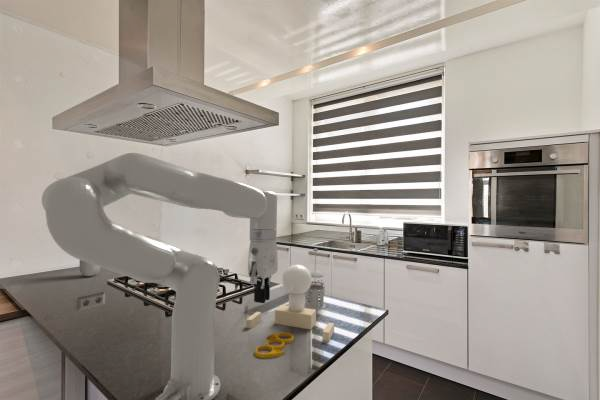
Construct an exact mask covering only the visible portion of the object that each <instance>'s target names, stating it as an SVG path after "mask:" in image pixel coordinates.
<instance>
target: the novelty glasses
mask: <svg viewBox="0 0 600 400" xmlns="http://www.w3.org/2000/svg"><path fill="white" fill-rule="evenodd" d="M282 337H288V338H286V339H285V338H282ZM294 338H295V337H294V335H293V334H292V333H289V332H276V333H271V334H269V335H268V336H266V340H267V341H266V343H265V345H259V346H258V347H256V348H255V349H254V356H255V357H257V358H259V359H270V358H278V357H280V356H283V355H284V354H285V353H286V352H285V351H286V350H283V349H284V348H285V346H286V344H290V343H293V342H294V340H295V339H294ZM268 339H269V340H268ZM273 343H274V344H275V343H277V344H279V345H271V344H273ZM262 350H269V351H270V352H265V353H263V352H260V351H262Z"/></svg>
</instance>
